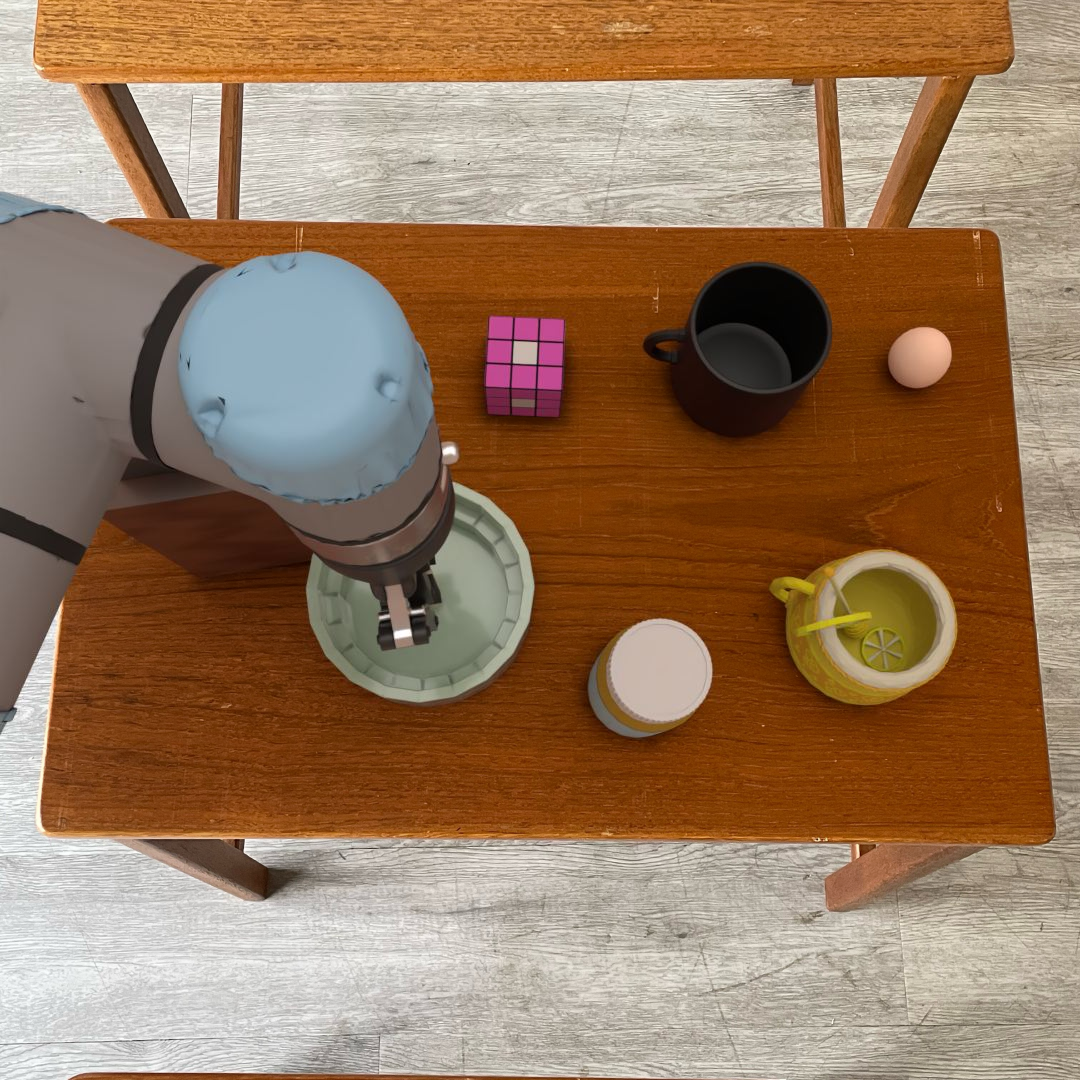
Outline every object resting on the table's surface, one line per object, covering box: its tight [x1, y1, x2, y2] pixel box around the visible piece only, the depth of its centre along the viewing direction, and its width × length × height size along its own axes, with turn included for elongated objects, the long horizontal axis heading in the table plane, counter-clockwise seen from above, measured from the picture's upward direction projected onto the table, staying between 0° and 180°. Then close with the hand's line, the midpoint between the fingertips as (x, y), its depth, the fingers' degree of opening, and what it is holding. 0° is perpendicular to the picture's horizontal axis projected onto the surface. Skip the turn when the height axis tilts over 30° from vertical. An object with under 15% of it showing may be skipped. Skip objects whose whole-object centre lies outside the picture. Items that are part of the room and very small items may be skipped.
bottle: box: [587, 617, 714, 739], centre depth 69 cm, size 7×7×15 cm
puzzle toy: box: [483, 315, 566, 418], centre depth 79 cm, size 6×6×6 cm
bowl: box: [305, 481, 536, 708], centre depth 74 cm, size 16×16×6 cm
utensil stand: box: [102, 457, 313, 579], centre depth 66 cm, size 9×9×25 cm
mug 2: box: [768, 548, 959, 706], centre depth 72 cm, size 13×11×12 cm
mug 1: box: [642, 261, 834, 437], centre depth 77 cm, size 10×13×10 cm
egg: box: [887, 326, 953, 389], centre depth 79 cm, size 4×4×6 cm
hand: (418, 581), depth 69 cm, fingers closed on stirring stick, 2 cm apart
